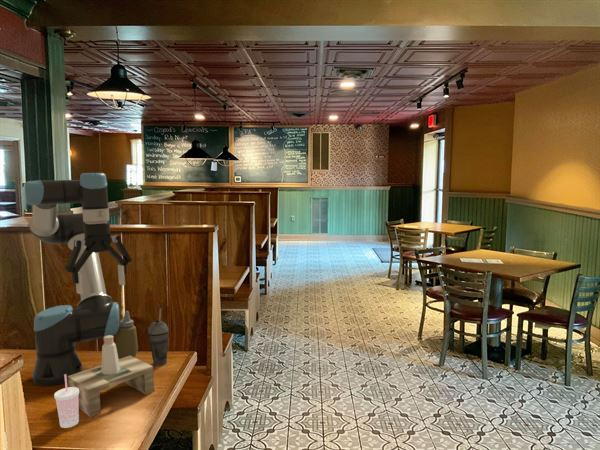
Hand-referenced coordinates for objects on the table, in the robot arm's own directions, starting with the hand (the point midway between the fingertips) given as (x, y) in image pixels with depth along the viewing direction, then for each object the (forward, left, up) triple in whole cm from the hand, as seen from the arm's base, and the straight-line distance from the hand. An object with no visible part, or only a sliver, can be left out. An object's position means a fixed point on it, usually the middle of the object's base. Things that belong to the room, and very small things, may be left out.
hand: (101, 289), depth 145 cm
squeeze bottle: (-15, +14, -32) cm, 38 cm away
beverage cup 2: (-2, +20, -32) cm, 38 cm away
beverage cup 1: (+15, -18, -32) cm, 40 cm away
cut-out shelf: (+9, -3, -32) cm, 33 cm away
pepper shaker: (+9, -3, -24) cm, 26 cm away
